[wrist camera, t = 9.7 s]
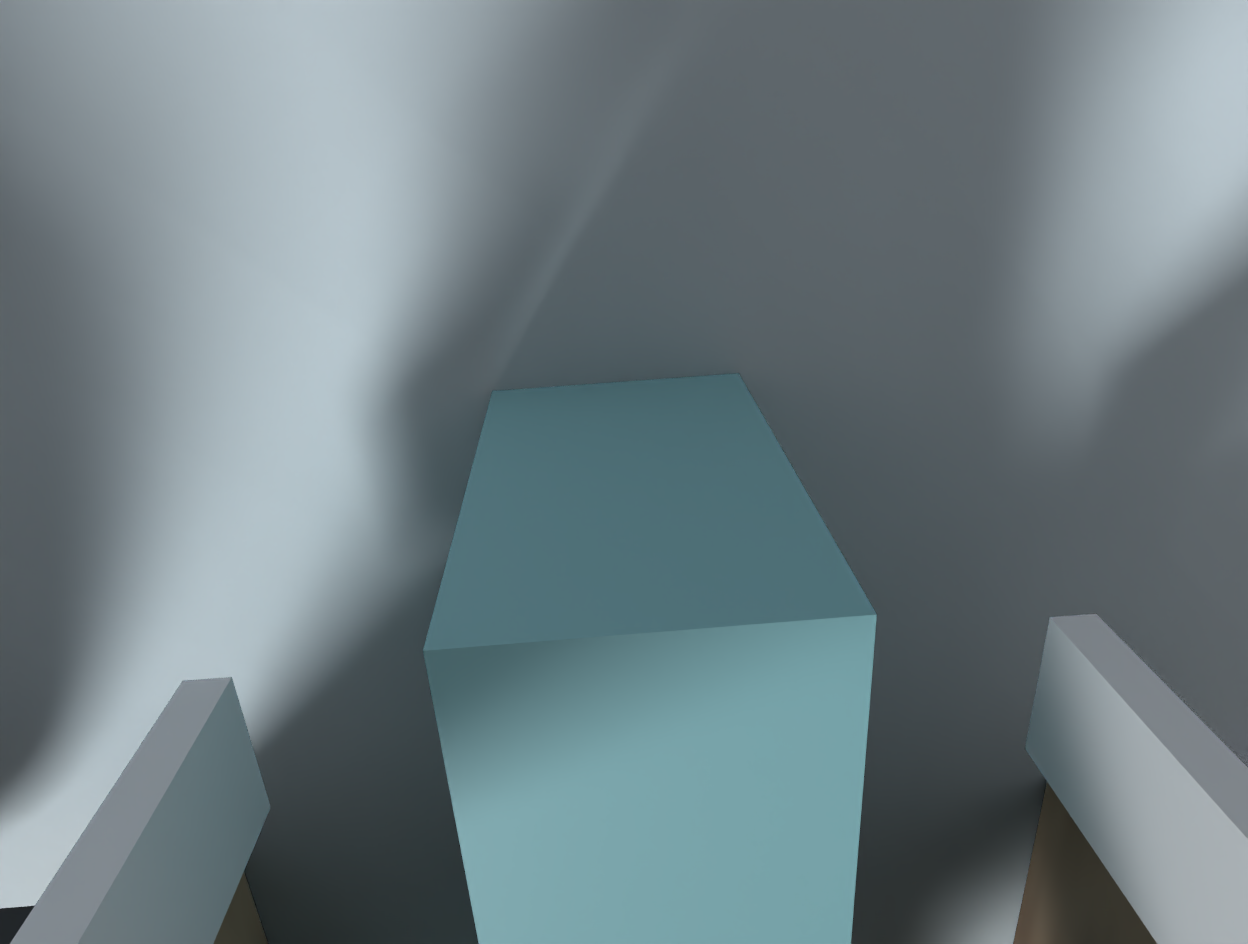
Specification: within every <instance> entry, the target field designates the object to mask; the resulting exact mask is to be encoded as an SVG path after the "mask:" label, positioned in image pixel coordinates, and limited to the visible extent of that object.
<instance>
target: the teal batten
mask: <svg viewBox="0 0 1248 944" xmlns="http://www.w3.org/2000/svg"><path fill="white" fill-rule="evenodd" d="M876 619H877V614H876V612H875V610H874V609H873V607H872V605H871V603H870V602H869V600H868V598H867V596H866V595H865V593H864V591H863V590H862V588H861V586H860V584H859V583H858V581H857V579H856V577H855V576H854V574H853V572H852V570H851V569H850V567H849V565H848V563H847V562H846V560H845V558H844V556H843V555H842V553H841V551H840V549H839V548H838V546H837V544H836V542H835V541H834V539H833V537H832V535H831V534H830V532H829V530H828V528H827V527H826V525H825V523H824V521H823V520H822V518H821V516H820V514H819V513H818V511H817V509H816V507H815V506H814V504H813V502H812V500H811V499H810V497H809V495H808V493H807V492H806V490H805V488H804V486H803V485H802V483H801V481H800V479H799V478H798V476H797V474H796V472H795V471H794V469H793V467H792V465H791V464H790V462H789V460H788V458H787V457H786V455H785V453H784V451H783V450H782V448H781V446H780V444H779V443H778V441H777V439H776V437H775V436H774V434H773V432H772V430H771V429H770V427H769V425H768V424H767V422H766V420H765V418H764V417H763V415H762V413H761V411H760V410H759V408H758V406H757V404H756V403H755V401H754V399H753V397H752V396H751V394H750V392H749V390H748V389H747V387H746V385H745V383H744V382H743V380H742V378H741V376H740V375H739V373H735V374H721V375H707V376H693V377H679V378H666V379H652V380H638V381H624V382H610V383H596V384H582V385H568V386H555V387H541V388H527V389H513V390H499V391H492V394H491V398H490V401H489V405H488V409H487V413H486V416H485V420H484V424H483V428H482V431H481V435H480V439H479V443H478V446H477V450H476V454H475V458H474V461H473V465H472V469H471V473H470V476H469V480H468V484H467V487H466V491H465V495H464V499H463V502H462V506H461V510H460V514H459V517H458V521H457V525H456V529H455V532H454V536H453V540H452V544H451V547H450V551H449V555H448V559H447V562H446V566H445V570H444V574H443V577H442V581H441V585H440V589H439V592H438V596H437V600H436V604H435V607H434V611H433V615H432V619H431V622H430V626H429V630H428V634H427V637H426V641H425V645H424V649H423V654H424V659H425V664H426V670H427V675H428V680H429V685H430V691H431V696H432V701H433V706H434V712H435V717H436V722H437V727H438V733H439V738H440V743H441V748H442V754H443V759H444V764H445V769H446V775H447V780H448V785H449V790H450V796H451V801H452V806H453V811H454V817H455V822H456V827H457V832H458V838H459V843H460V848H461V853H462V859H463V864H464V869H465V874H466V880H467V885H468V890H469V895H470V901H471V906H472V911H473V916H474V922H475V927H476V932H477V937H478V943H479V944H851V936H852V923H853V910H854V898H855V885H856V872H857V860H858V847H859V834H860V822H861V809H862V796H863V784H864V771H865V758H866V745H867V733H868V720H869V707H870V695H871V682H872V669H873V657H874V644H875V631H876Z"/></svg>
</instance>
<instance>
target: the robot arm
mask: <svg viewBox="0 0 1248 944" xmlns="http://www.w3.org/2000/svg"><path fill="white" fill-rule="evenodd" d="M1025 749H1026V751H1027V752H1028V754H1029V755H1030V757H1031V758H1032V760H1033V761H1034V763H1035V764H1036V766H1037V767H1038V769H1039V770H1040V772H1041V773H1042V775H1043V776H1044V777H1045V779H1046V780H1047V782H1048V783H1049V785H1050V786H1051V788H1052V789H1053V791H1054V792H1055V794H1056V795H1057V797H1058V798H1059V800H1060V801H1061V803H1062V804H1063V805H1064V807H1065V808H1066V810H1067V811H1068V813H1069V814H1070V816H1071V817H1072V819H1073V820H1074V822H1075V823H1076V825H1077V826H1078V828H1079V829H1080V831H1081V832H1082V834H1083V835H1084V836H1085V838H1086V839H1087V841H1088V842H1089V844H1090V845H1091V847H1092V848H1093V850H1094V851H1095V853H1096V854H1097V856H1098V857H1099V859H1100V860H1101V862H1102V863H1103V864H1104V866H1105V867H1106V869H1107V870H1108V872H1109V873H1110V875H1111V876H1112V878H1113V879H1114V881H1115V882H1116V884H1117V885H1118V887H1119V888H1120V890H1121V891H1122V893H1123V894H1124V895H1125V897H1126V898H1127V900H1128V901H1129V903H1130V904H1131V906H1132V907H1133V909H1134V910H1135V912H1136V913H1137V915H1138V916H1139V918H1140V919H1141V921H1142V922H1143V923H1144V925H1145V926H1146V928H1147V929H1148V931H1149V932H1150V934H1151V935H1152V937H1153V938H1154V940H1155V941H1156V943H1157V944H1248V767H1247V766H1246V765H1245V764H1244V763H1243V762H1242V761H1241V760H1240V759H1239V758H1238V757H1237V756H1236V755H1235V754H1234V753H1233V752H1232V751H1231V750H1230V749H1229V748H1228V747H1227V746H1226V745H1225V744H1224V743H1223V742H1222V741H1221V740H1220V739H1219V738H1218V737H1217V736H1216V735H1215V734H1214V733H1213V732H1212V731H1211V730H1210V729H1209V728H1208V727H1207V726H1206V725H1205V724H1204V723H1203V722H1202V721H1201V720H1200V719H1199V718H1198V717H1197V716H1196V714H1195V713H1194V712H1193V711H1192V710H1191V709H1190V708H1189V707H1188V706H1187V705H1186V704H1185V703H1184V702H1183V701H1182V700H1181V699H1180V698H1179V697H1178V696H1177V695H1176V694H1175V693H1174V692H1173V691H1172V690H1171V689H1170V688H1169V687H1168V686H1167V685H1166V684H1165V683H1164V682H1163V681H1162V680H1161V679H1160V678H1159V677H1158V676H1157V675H1156V674H1155V673H1154V672H1153V671H1152V670H1151V669H1150V668H1149V667H1148V666H1147V665H1146V664H1145V663H1144V662H1143V661H1142V660H1141V659H1140V658H1139V657H1138V656H1137V655H1136V654H1135V653H1134V652H1133V651H1132V650H1131V649H1130V648H1129V647H1128V645H1127V644H1126V643H1125V642H1124V641H1123V640H1122V639H1121V638H1120V637H1119V636H1118V635H1117V634H1116V633H1115V632H1114V631H1113V630H1112V629H1111V628H1110V627H1109V626H1108V625H1107V624H1106V623H1105V622H1104V621H1103V620H1102V619H1101V618H1100V617H1099V616H1098V615H1097V614H1086V615H1072V616H1059V617H1050V619H1049V624H1048V629H1047V634H1046V640H1045V645H1044V650H1043V656H1042V661H1041V666H1040V671H1039V677H1038V682H1037V687H1036V692H1035V698H1034V703H1033V708H1032V714H1031V719H1030V724H1029V729H1028V735H1027V740H1026V745H1025ZM270 808H271V806H270V803H269V800H268V796H267V793H266V790H265V786H264V783H263V780H262V776H261V773H260V770H259V766H258V763H257V760H256V756H255V753H254V750H253V746H252V743H251V740H250V736H249V733H248V730H247V726H246V723H245V720H244V716H243V713H242V710H241V706H240V703H239V700H238V696H237V693H236V690H235V686H234V683H233V680H232V677H228V678H214V679H201V680H187V681H182V683H181V684H180V686H179V687H178V689H177V690H176V692H175V693H174V695H173V696H172V698H171V699H170V701H169V702H168V704H167V705H166V707H165V708H164V710H163V712H162V713H161V715H160V716H159V718H158V719H157V721H156V722H155V724H154V725H153V727H152V728H151V730H150V731H149V733H148V734H147V736H146V737H145V739H144V740H143V742H142V743H141V745H140V747H139V748H138V750H137V751H136V753H135V754H134V756H133V757H132V759H131V760H130V762H129V763H128V765H127V766H126V768H125V769H124V771H123V772H122V774H121V775H120V777H119V778H118V780H117V782H116V783H115V785H114V786H113V788H112V789H111V791H110V792H109V794H108V795H107V797H106V798H105V800H104V801H103V803H102V804H101V806H100V807H99V809H98V810H97V812H96V813H95V815H94V817H93V818H92V820H91V821H90V823H89V824H88V826H87V827H86V829H85V830H84V832H83V833H82V835H81V836H80V838H79V839H78V841H77V842H76V844H75V845H74V847H73V848H72V850H71V851H70V853H69V855H68V856H67V858H66V859H65V861H64V862H63V864H62V865H61V867H60V868H59V870H58V871H57V873H56V874H55V876H54V877H53V879H52V880H51V882H50V883H49V885H48V886H47V888H46V890H45V891H44V893H43V894H42V896H41V897H40V899H39V900H38V902H37V903H36V905H35V906H27V907H14V908H2V909H0V944H213V943H214V941H215V939H216V936H217V934H218V931H219V929H220V927H221V924H222V922H223V919H224V917H225V915H226V912H227V910H228V908H229V905H230V903H231V900H232V898H233V896H234V893H235V891H236V889H237V886H238V884H239V881H240V879H241V877H242V874H243V872H244V870H245V867H246V865H247V862H248V860H249V858H250V855H251V853H252V851H253V848H254V846H255V843H256V841H257V839H258V836H259V834H260V832H261V829H262V827H263V824H264V822H265V820H266V817H267V815H268V812H269V810H270Z"/></svg>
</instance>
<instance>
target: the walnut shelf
mask: <svg viewBox="0 0 1248 944" xmlns="http://www.w3.org/2000/svg"><path fill="white" fill-rule="evenodd" d="M213 944H268V942H267V939H266V936H265V933H264V930H263V927H262V924H261V921H260V918H259V915H258V912H257V909H256V906H255V903H254V900H253V897H252V894H251V891H250V888H249V885H248V882H247V879H246V876H245V873H244V872H243V874H242V877H241V879H240V881H239V884H238V886H237V889H236V891H235V893H234V896H233V898H232V900H231V903H230V905H229V908H228V910H227V912H226V915H225V917H224V919H223V922H222V924H221V927H220V929H219V931H218V934H217V936H216V939H215V941H214V943H213ZM1013 944H1157V943H1156V941H1155V940H1154V938H1153V937H1152V935H1151V934H1150V932H1149V931H1148V929H1147V928H1146V926H1145V925H1144V923H1143V922H1142V921H1141V919H1140V918H1139V916H1138V915H1137V913H1136V912H1135V910H1134V909H1133V907H1132V906H1131V904H1130V903H1129V901H1128V900H1127V898H1126V897H1125V895H1124V894H1123V893H1122V891H1121V890H1120V888H1119V887H1118V885H1117V884H1116V882H1115V881H1114V879H1113V878H1112V876H1111V875H1110V873H1109V872H1108V870H1107V869H1106V867H1105V866H1104V864H1103V863H1102V862H1101V860H1100V859H1099V857H1098V856H1097V854H1096V853H1095V851H1094V850H1093V848H1092V847H1091V845H1090V844H1089V842H1088V841H1087V839H1086V838H1085V836H1084V835H1083V834H1082V832H1081V831H1080V829H1079V828H1078V826H1077V825H1076V823H1075V822H1074V820H1073V819H1072V817H1071V816H1070V814H1069V813H1068V811H1067V810H1066V808H1065V807H1064V805H1063V804H1062V803H1061V801H1060V800H1059V798H1058V797H1057V795H1056V794H1055V792H1054V791H1053V789H1052V788H1051V786H1050V785H1049V783H1048V782H1047V784H1046V789H1045V794H1044V798H1043V803H1042V808H1041V813H1040V818H1039V822H1038V827H1037V832H1036V837H1035V842H1034V847H1033V851H1032V856H1031V861H1030V866H1029V871H1028V875H1027V880H1026V885H1025V890H1024V895H1023V900H1022V904H1021V909H1020V914H1019V919H1018V924H1017V928H1016V933H1015V938H1014V943H1013Z"/></svg>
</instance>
